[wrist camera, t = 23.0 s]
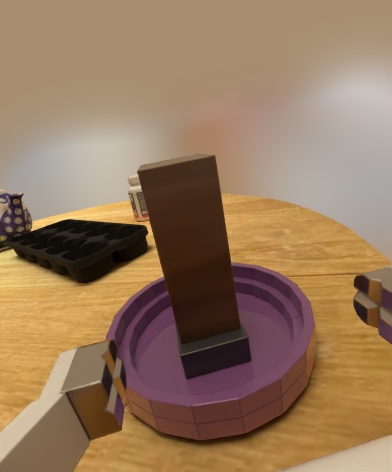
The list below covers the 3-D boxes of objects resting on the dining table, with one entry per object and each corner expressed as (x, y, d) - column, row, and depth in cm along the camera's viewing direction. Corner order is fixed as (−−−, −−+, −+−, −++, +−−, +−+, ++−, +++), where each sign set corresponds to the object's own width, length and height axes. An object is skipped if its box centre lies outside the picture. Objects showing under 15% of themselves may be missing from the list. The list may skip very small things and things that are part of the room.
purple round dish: (331, 307, 21) (331, 274, 20) (272, 517, 10) (266, 472, 9) (190, 279, 29) (185, 255, 28) (78, 379, 18) (63, 347, 17)
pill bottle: (161, 213, 61) (152, 171, 58) (153, 220, 56) (142, 175, 53) (141, 215, 62) (130, 175, 59) (131, 222, 57) (119, 179, 54)
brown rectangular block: (252, 361, 16) (223, 154, 12) (186, 380, 16) (131, 173, 12) (224, 304, 23) (199, 153, 18) (176, 317, 22) (138, 165, 18)
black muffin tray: (99, 289, 30) (89, 261, 29) (-21, 272, 45) (-32, 252, 43) (173, 234, 45) (169, 213, 43) (64, 234, 59) (59, 218, 58)
